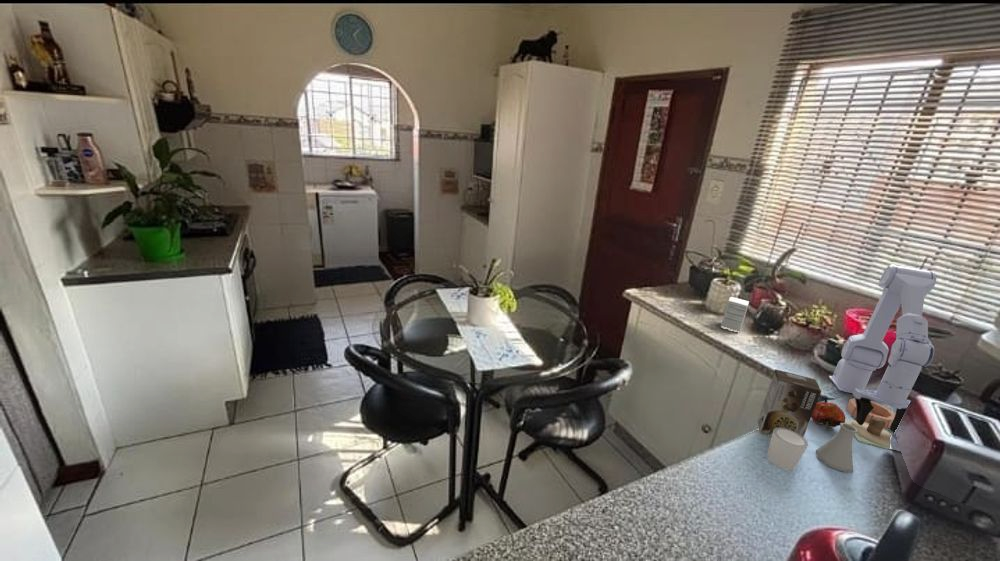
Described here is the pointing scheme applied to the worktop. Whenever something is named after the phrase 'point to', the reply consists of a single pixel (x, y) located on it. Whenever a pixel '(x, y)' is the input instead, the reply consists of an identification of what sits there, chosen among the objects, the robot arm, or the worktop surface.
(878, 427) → the lid
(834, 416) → the pomegranate
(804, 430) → the coffee box
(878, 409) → the dish
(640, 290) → the worktop surface
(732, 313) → the supplement box
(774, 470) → the worktop surface
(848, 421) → the mat
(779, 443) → the white cylinder
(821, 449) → the flask
